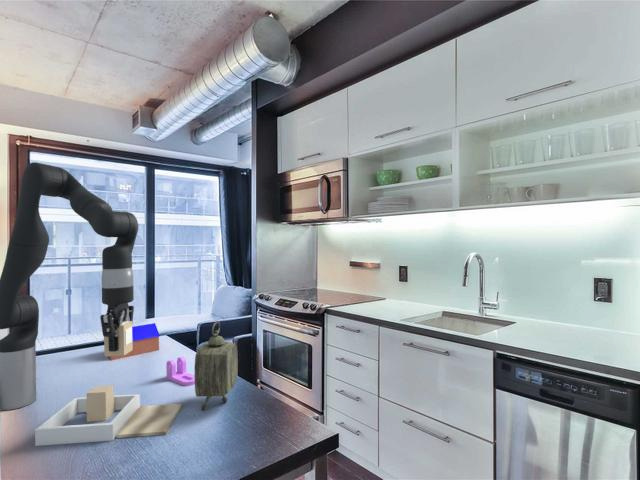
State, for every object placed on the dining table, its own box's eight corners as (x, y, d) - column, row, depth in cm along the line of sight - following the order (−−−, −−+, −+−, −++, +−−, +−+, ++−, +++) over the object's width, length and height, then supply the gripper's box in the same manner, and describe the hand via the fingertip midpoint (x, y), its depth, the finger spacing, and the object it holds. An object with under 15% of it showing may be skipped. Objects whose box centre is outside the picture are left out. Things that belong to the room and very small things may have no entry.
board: (116, 438, 92) (116, 434, 92) (140, 408, 108) (140, 406, 108) (165, 434, 94) (165, 431, 94) (182, 406, 110) (182, 403, 110)
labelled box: (124, 355, 96) (124, 324, 96) (104, 356, 95) (103, 325, 95) (133, 349, 101) (132, 320, 101) (113, 350, 100) (113, 320, 100)
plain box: (86, 421, 101) (86, 393, 101) (95, 413, 106) (95, 385, 106) (106, 420, 101) (105, 392, 101) (114, 412, 106) (113, 384, 106)
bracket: (166, 379, 132) (166, 359, 131) (180, 374, 136) (180, 355, 136) (187, 387, 124) (187, 367, 124) (201, 382, 128) (201, 362, 128)
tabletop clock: (211, 392, 119) (210, 316, 119) (238, 392, 119) (237, 316, 119) (194, 413, 105) (193, 327, 105) (226, 413, 104) (224, 327, 104)
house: (103, 354, 161) (103, 328, 160) (151, 345, 174) (150, 321, 174) (110, 361, 152) (110, 333, 152) (160, 350, 166) (159, 325, 165)
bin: (35, 445, 89) (35, 429, 89) (75, 411, 107) (75, 397, 107) (112, 440, 91) (112, 424, 91) (139, 407, 109) (139, 394, 109)
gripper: (119, 288, 91) (120, 355, 91) (143, 281, 105) (144, 340, 105) (88, 289, 91) (89, 357, 91) (116, 282, 105) (117, 341, 105)
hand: (118, 347), depth 98 cm, fingers closed on labelled box, 5 cm apart
